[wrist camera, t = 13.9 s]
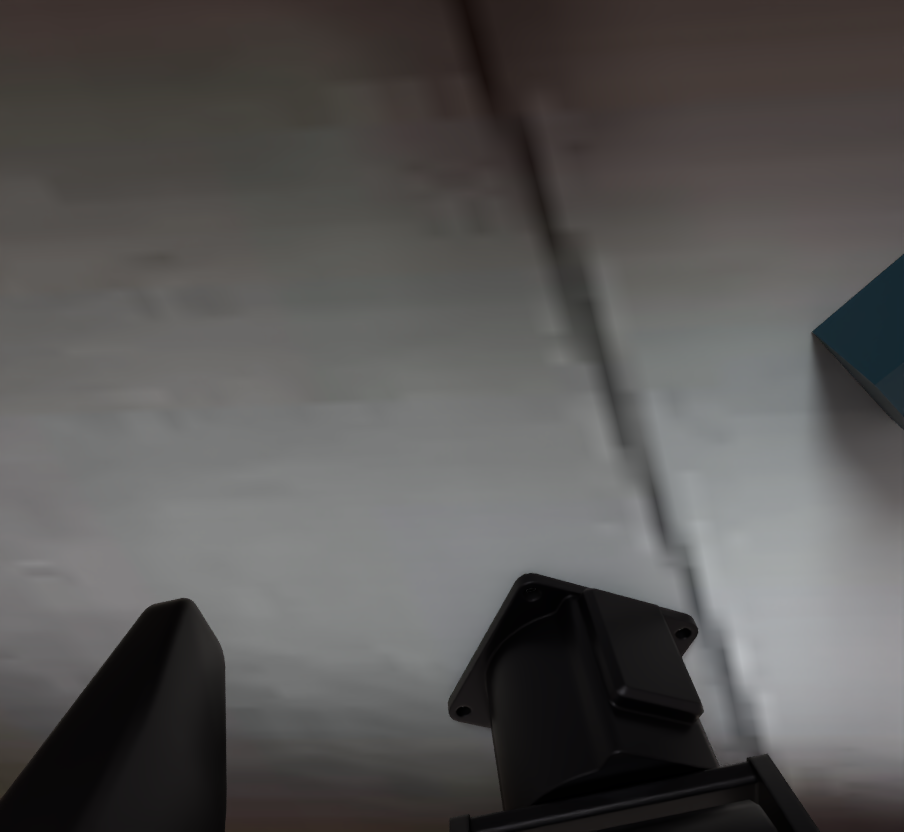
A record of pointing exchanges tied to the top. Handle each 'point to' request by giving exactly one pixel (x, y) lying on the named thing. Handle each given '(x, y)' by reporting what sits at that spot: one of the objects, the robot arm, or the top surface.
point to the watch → (873, 339)
